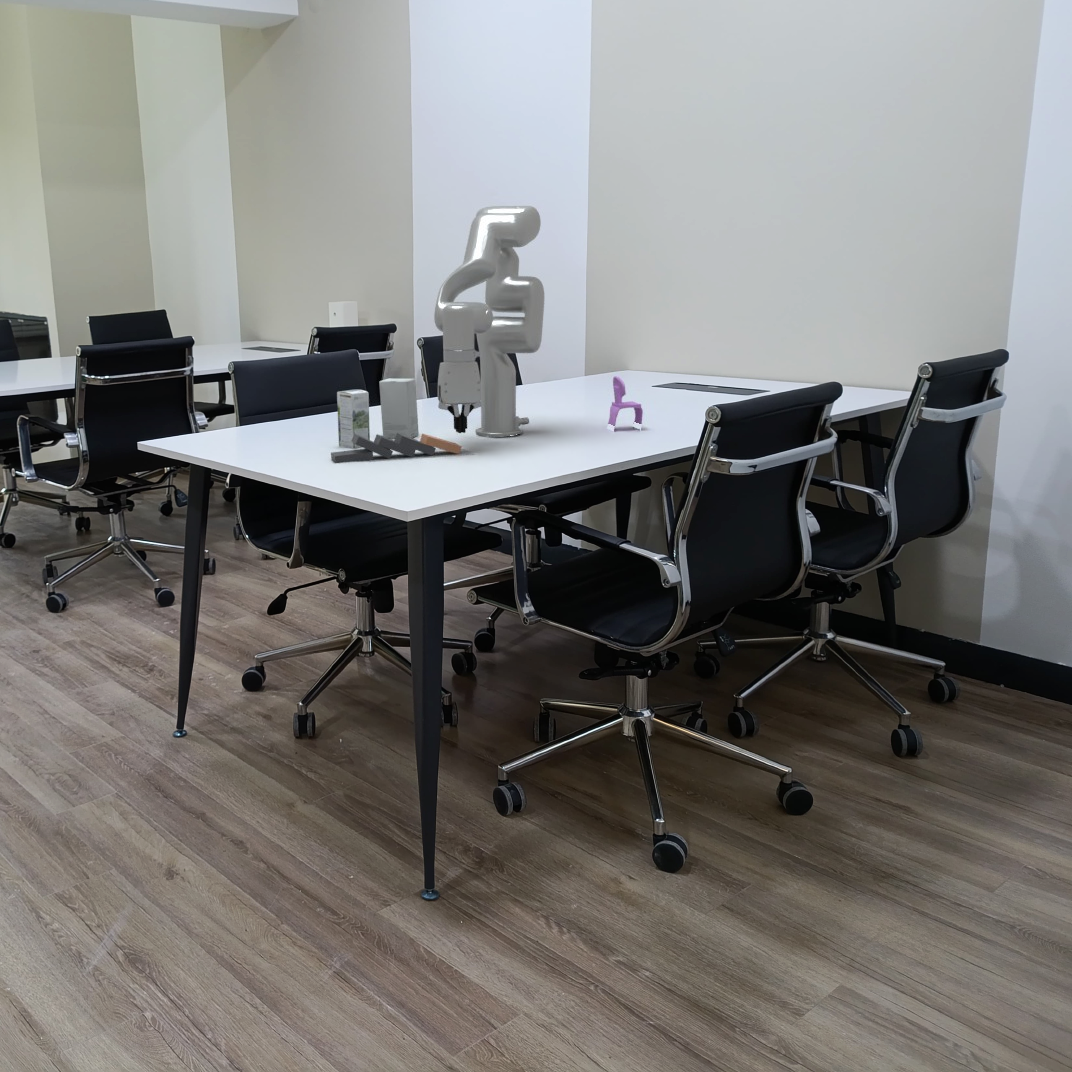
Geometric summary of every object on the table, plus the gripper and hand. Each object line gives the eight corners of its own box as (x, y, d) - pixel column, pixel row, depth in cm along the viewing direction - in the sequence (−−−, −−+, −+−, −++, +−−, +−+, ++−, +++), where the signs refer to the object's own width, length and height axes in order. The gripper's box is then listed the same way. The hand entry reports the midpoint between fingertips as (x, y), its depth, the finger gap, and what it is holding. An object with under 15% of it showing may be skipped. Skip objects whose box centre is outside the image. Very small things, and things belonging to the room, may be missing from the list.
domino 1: (367, 448, 253) (330, 452, 250) (372, 451, 248) (334, 456, 245) (368, 456, 253) (331, 460, 250) (373, 460, 249) (335, 464, 246)
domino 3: (410, 446, 256) (376, 434, 253) (415, 449, 252) (381, 437, 248) (407, 454, 257) (373, 441, 253) (412, 457, 252) (378, 445, 248)
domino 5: (455, 443, 260) (422, 433, 257) (461, 446, 256) (427, 436, 252) (453, 450, 261) (419, 441, 257) (459, 454, 256) (425, 444, 252)
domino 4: (430, 445, 258) (397, 432, 254) (436, 448, 254) (402, 435, 250) (427, 452, 258) (394, 440, 255) (433, 456, 254) (399, 443, 250)
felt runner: (465, 450, 263) (465, 449, 263) (475, 456, 256) (475, 454, 256) (362, 457, 254) (362, 455, 254) (370, 463, 247) (370, 461, 247)
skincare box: (419, 435, 285) (417, 378, 281) (409, 439, 279) (408, 381, 275) (390, 434, 288) (388, 377, 284) (380, 438, 281) (378, 380, 277)
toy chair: (644, 431, 294) (645, 377, 290) (614, 432, 291) (615, 378, 287) (633, 426, 301) (634, 374, 297) (604, 427, 299) (605, 375, 295)
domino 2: (388, 448, 254) (354, 433, 251) (393, 451, 250) (358, 436, 246) (384, 455, 255) (351, 440, 251) (389, 459, 250) (355, 444, 246)
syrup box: (355, 444, 272) (353, 388, 268) (371, 447, 268) (368, 390, 264) (338, 447, 267) (335, 390, 264) (354, 450, 264) (351, 392, 260)
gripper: (483, 354, 259) (484, 428, 264) (425, 356, 254) (427, 431, 259) (493, 357, 252) (494, 432, 257) (433, 359, 247) (435, 436, 252)
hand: (460, 432), depth 258 cm, fingers closed
